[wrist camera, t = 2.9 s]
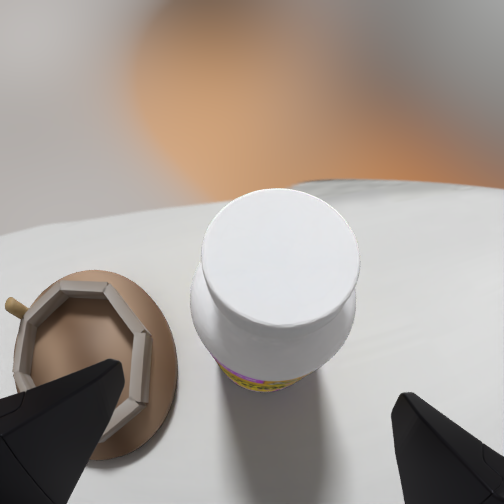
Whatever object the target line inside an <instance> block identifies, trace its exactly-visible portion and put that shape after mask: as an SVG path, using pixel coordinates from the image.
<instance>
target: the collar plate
mask: <svg viewBox="0 0 504 504" xmlns="http://www.w3.org/2000/svg"><path fill="white" fill-rule="evenodd" d="M5 309H6V311H8V312H9V313H11V314H13V315H14V316H16V317H18V318H19V319H21V322H20V326H19V332H18V335H17V339H16V344H15V350H14V363H13V371H12V372H14V375H13V377H14V379H15V383H16V388H17V392H18V393H20V392H23V391H25V392H26V390H29V389H31V388H34V387H37V386H39V385H42V384H45V383H47V382H50V381H53V380H55V379H58V378H61V377H63V376H66V375H68V374H71V373H74V372H76V371H79V370H81V369H84V368H86V367H89V366H91V365H94V364H96V363H99V362H101V361H104V360H106V359H109V358H112V359H115V360H119V361H120V362H121V363H122V367H123V372H124V377H125V385H124V388H123V391H122V393H121V395H120V398H119V400H118V403H117V405H116V408H115V410H114V413H113V415H112V417H111V420H110V422H109V424H108V426H107V428H106V429H105V431H104V433H103V435H102V437H101V439H100V440H99V442H98V444H97V446H96V448H95V450H94V452H93V453H92V455H91V457H90V459H89V460H105V459H112V458H116V457H119V456H123V455H126V454H128V453H130V452H132V451H135V450H136V449H138V448H139V447H141V446H142V445H144V444H145V443H146V442H147V441H148V440H149V439H150V438H151V437H152V436H153V435H154V434H155V433H156V432H157V430H158V429H159V428H160V426H161V425H162V423H163V422H164V420H165V418H166V416H167V414H168V412H169V410H170V407H171V404H172V402H173V398H174V394H175V390H176V383H177V355H176V348H175V344H174V340H173V336H172V333H171V330H170V328H169V325H168V323H167V321H166V319H165V317H164V315H163V314H162V312H161V310H160V309H159V308H158V306H157V305H156V303H155V302H154V301H153V300H152V298H151V297H150V296H149V295H148V294H147V293H146V292H145V291H144V290H143V289H142V288H141V287H139V286H138V285H137V284H136V283H134V282H133V281H131V280H129V279H127V278H126V277H124V276H121V275H119V274H116V273H112V272H108V271H102V270H87V271H81V272H76V273H73V274H70V275H68V276H65V277H63V278H61V279H59V280H58V281H56V282H55V283H53V284H52V285H50V286H49V287H48V288H47V289H46V290H44V291H43V292H42V293H41V294H40V295H39V297H38V298H37V299H36V300H35V301H34V303H33V304H32V305H31V307H30V308H27V307H26V306H24V305H23V304H21V303H20V302H18V301H17V300H15V299H14V298H12V297H10V298H8V299H7V301H6V303H5Z"/></svg>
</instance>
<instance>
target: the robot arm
mask: <svg viewBox="0 0 504 504" xmlns="http://www.w3.org/2000/svg"><path fill="white" fill-rule="evenodd" d="M124 385H125V377H124V372H123V367H122V363H121V362H120V361H119V360H115V359H112V358H109V359H106V360H104V361H101V362H99V363H96V364H94V365H91V366H89V367H86V368H84V369H81V370H79V371H76V372H74V373H71V374H68V375H66V376H63V377H61V378H58V379H55V380H53V381H50V382H47V383H45V384H42V385H39V386H37V387H34V388H31V389H29V390H26V392H25V391H23V392H20V393H17V394H14V395H11V396H8V397H5V398H2V399H0V504H67V502H68V500H69V498H70V496H71V494H72V492H73V490H74V488H75V486H76V484H77V482H78V480H79V478H80V476H81V474H82V472H83V470H84V468H85V467H86V465H87V463H88V461H89V459H90V457H91V455H92V453H93V452H94V450H95V448H96V446H97V444H98V442H99V440H100V439H101V437H102V435H103V433H104V431H105V429H106V428H107V426H108V424H109V422H110V420H111V417H112V415H113V413H114V410H115V408H116V405H117V403H118V400H119V398H120V395H121V393H122V391H123V388H124ZM391 420H392V428H393V437H394V447H395V455H396V460H397V465H398V469H399V474H400V479H401V485H402V490H403V496H404V501H405V504H504V457H503V456H502V455H500V454H499V453H497V452H496V451H494V450H492V449H491V448H490V447H488V446H487V445H485V444H482V442H481V441H480V440H478V439H477V438H475V437H474V436H473V435H471V434H470V433H468V432H467V431H466V430H464V429H463V428H461V427H460V426H459V425H457V424H456V423H454V422H453V421H452V420H450V419H449V418H447V417H446V416H445V415H443V414H442V413H440V412H439V411H438V410H436V409H435V408H434V407H432V406H431V405H429V404H428V403H427V402H425V401H424V400H423V399H421V398H420V397H418V396H417V395H416V394H414V393H413V392H405V393H401V394H400V395H399V397H398V399H397V401H396V403H395V406H394V408H393V410H392V413H391Z"/></svg>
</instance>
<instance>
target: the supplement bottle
mask: <svg viewBox="0 0 504 504" xmlns="http://www.w3.org/2000/svg"><path fill="white" fill-rule="evenodd" d="M359 271H360V253H359V247H358V244H357V240H356V237H355V235H354V233H353V231H352V229H351V228H350V226H349V224H348V223H347V222H346V220H345V219H344V218H343V217H342V216H341V215H340V214H339V212H337V211H336V210H335V209H334V208H333V207H332V206H330V205H329V204H328V203H326V202H324V201H323V200H321V199H319V198H317V197H315V196H312V195H310V194H307V193H304V192H301V191H297V190H291V189H280V188H277V189H276V188H274V189H264V190H258V191H255V192H251V193H248V194H245V195H243V196H241V197H239V198H237V199H235V200H233V201H232V202H230V203H229V204H227V205H226V206H225V207H224V208H223V209H222V210H221V211H220V212H219V213H218V214H217V215H216V216H215V218H214V219H213V220H212V222H211V223H210V225H209V226H208V228H207V230H206V233H205V236H204V239H203V243H202V249H201V261H200V263H199V264H198V266H197V269H196V271H195V274H194V277H193V281H192V286H191V292H190V308H191V315H192V319H193V323H194V326H195V329H196V331H197V333H198V335H199V337H200V339H201V341H202V342H203V344H204V345H205V347H206V348H207V350H208V351H209V352H210V354H211V355H212V356H213V358H214V359H215V361H216V362H217V363H218V365H219V366H220V368H221V369H222V370H223V372H224V373H225V374H226V375H227V376H228V377H229V378H230V379H231V380H232V381H233V382H234V383H236V384H237V385H239V386H241V387H243V388H245V389H248V390H251V391H256V392H273V391H277V390H281V389H284V388H286V387H288V386H290V385H292V384H294V383H295V382H297V381H299V380H300V379H302V378H304V377H305V376H307V375H309V374H310V373H312V372H313V371H315V370H316V369H318V368H320V367H321V366H322V365H324V364H325V363H326V362H327V361H329V360H330V359H331V358H332V357H333V356H334V355H335V354H336V353H337V352H338V350H339V349H340V348H341V347H342V345H343V344H344V342H345V340H346V339H347V337H348V335H349V333H350V330H351V328H352V325H353V321H354V317H355V311H356V291H355V286H356V283H357V280H358V277H359Z"/></svg>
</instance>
